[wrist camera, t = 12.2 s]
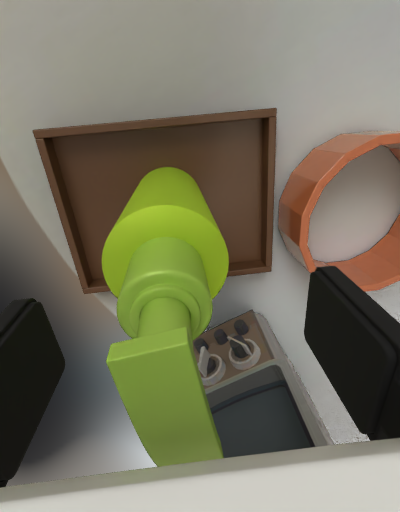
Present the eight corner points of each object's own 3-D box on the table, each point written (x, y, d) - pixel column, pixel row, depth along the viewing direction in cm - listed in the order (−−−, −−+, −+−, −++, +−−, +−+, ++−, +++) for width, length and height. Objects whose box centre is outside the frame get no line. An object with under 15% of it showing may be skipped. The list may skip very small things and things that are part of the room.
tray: (43, 129, 22) (31, 129, 20) (268, 109, 23) (276, 107, 21) (89, 283, 28) (83, 294, 26) (265, 262, 29) (271, 271, 27)
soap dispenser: (149, 247, 26) (102, 509, 8) (126, 175, 23) (-28, 334, 5) (209, 234, 26) (293, 465, 8) (193, 159, 23) (272, 264, 5)
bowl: (281, 139, 24) (307, 142, 19) (428, 125, 24) (486, 124, 20) (275, 274, 29) (294, 300, 25) (394, 259, 30) (434, 283, 26)
